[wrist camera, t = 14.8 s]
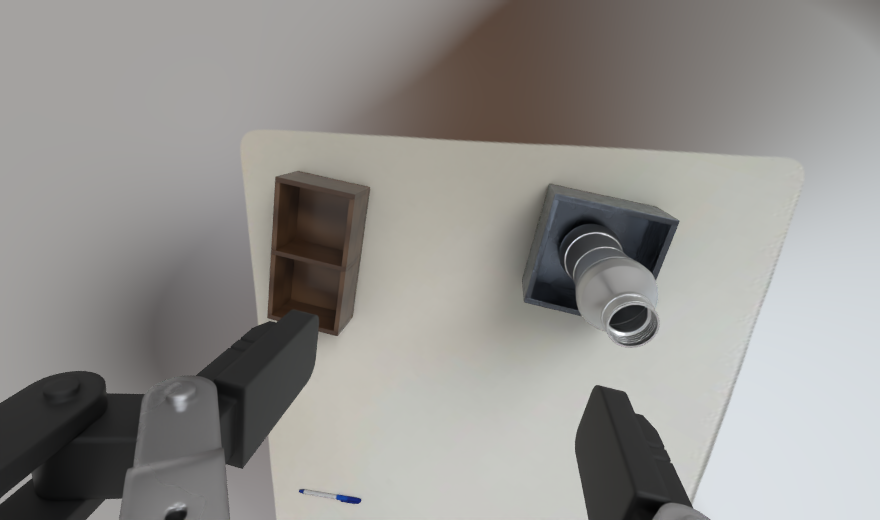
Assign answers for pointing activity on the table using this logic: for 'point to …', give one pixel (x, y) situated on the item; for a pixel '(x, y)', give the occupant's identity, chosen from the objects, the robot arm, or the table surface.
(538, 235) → the dark grey open box
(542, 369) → the table surface
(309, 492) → the ballpoint pen
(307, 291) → the divided box
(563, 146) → the table surface
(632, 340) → the silver metal bottle
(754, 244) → the table surface
